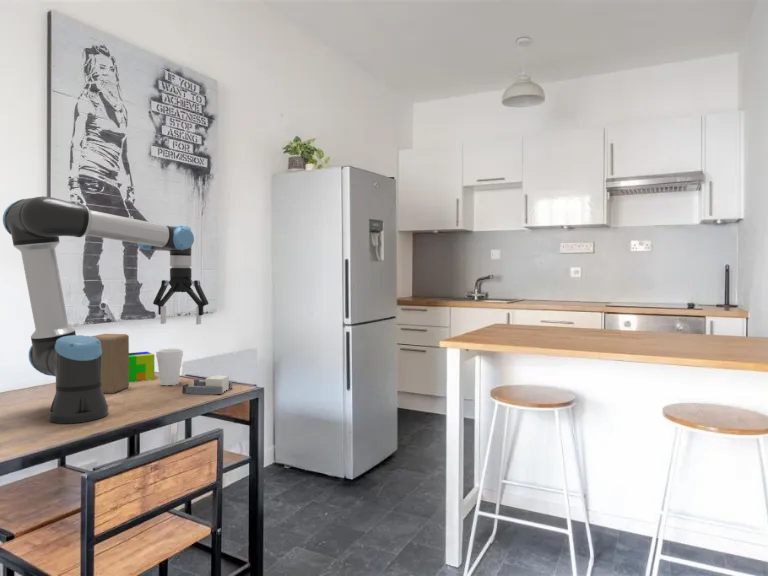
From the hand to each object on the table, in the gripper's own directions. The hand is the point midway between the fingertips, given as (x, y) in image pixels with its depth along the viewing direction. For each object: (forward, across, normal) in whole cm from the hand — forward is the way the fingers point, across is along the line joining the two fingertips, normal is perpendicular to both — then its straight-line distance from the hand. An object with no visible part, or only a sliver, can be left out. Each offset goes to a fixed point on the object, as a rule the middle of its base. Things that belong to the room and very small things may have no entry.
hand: (180, 323), depth 195 cm
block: (+23, -17, +8) cm, 30 cm away
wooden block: (+24, +22, +10) cm, 34 cm away
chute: (+23, -13, +7) cm, 28 cm away
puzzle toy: (+24, +23, -11) cm, 35 cm away
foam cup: (+24, +6, -3) cm, 25 cm away
